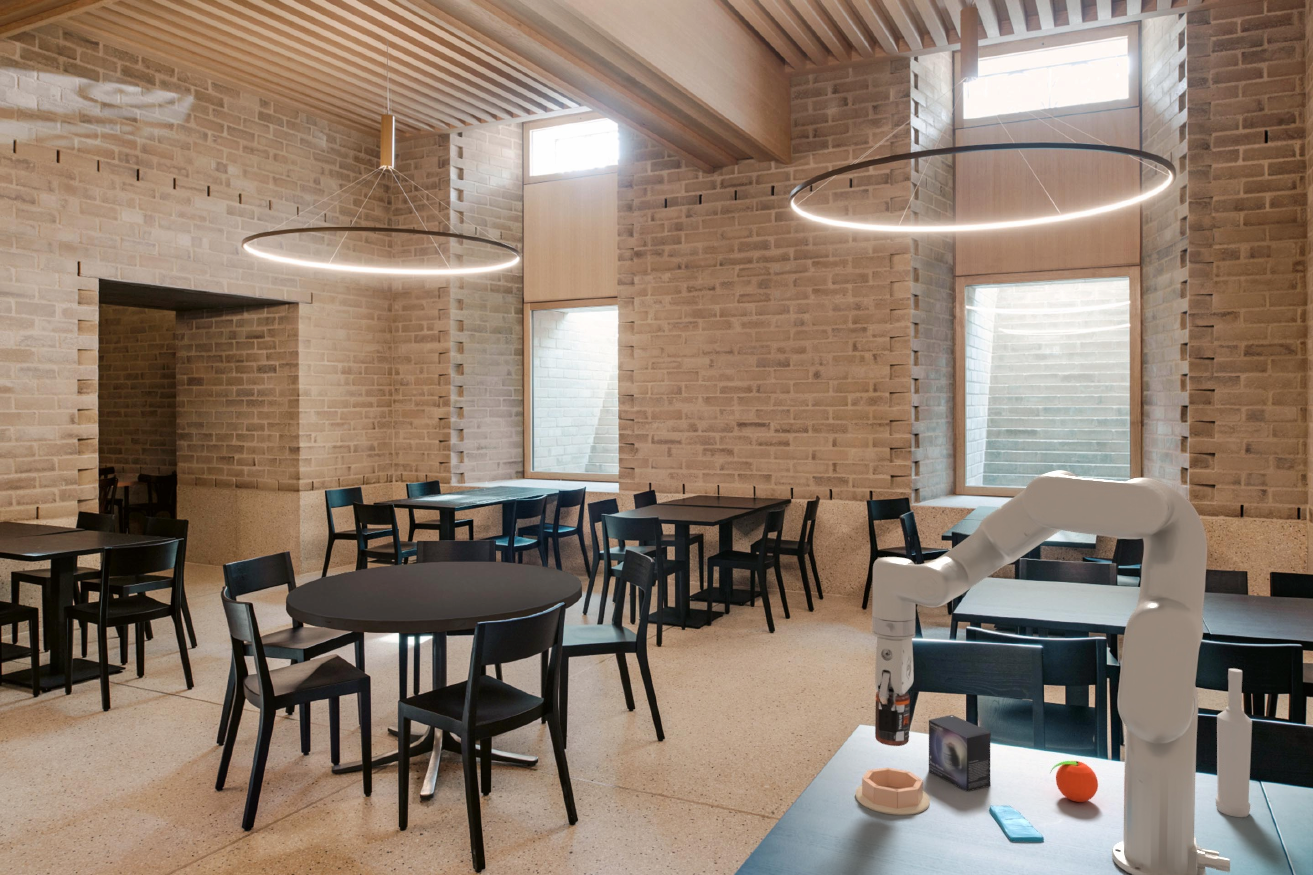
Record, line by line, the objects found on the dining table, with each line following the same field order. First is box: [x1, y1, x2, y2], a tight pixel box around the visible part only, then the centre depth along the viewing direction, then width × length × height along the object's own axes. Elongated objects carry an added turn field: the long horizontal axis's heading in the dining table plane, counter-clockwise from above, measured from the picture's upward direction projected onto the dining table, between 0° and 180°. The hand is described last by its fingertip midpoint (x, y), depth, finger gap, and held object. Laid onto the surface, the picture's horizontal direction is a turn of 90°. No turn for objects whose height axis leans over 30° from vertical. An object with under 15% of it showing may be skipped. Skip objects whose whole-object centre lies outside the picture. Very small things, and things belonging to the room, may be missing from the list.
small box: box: [928, 714, 992, 792], centre depth 172 cm, size 11×6×10 cm, turn 25°
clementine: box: [1049, 760, 1099, 803], centre depth 163 cm, size 8×7×7 cm
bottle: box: [1215, 668, 1253, 818], centre depth 158 cm, size 5×5×25 cm
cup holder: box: [855, 767, 931, 816], centre depth 163 cm, size 13×13×4 cm
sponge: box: [988, 805, 1045, 843], centre depth 153 cm, size 2×12×6 cm
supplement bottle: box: [874, 689, 911, 747], centre depth 163 cm, size 6×6×11 cm
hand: (892, 724), depth 163 cm, fingers closed on supplement bottle, 6 cm apart
